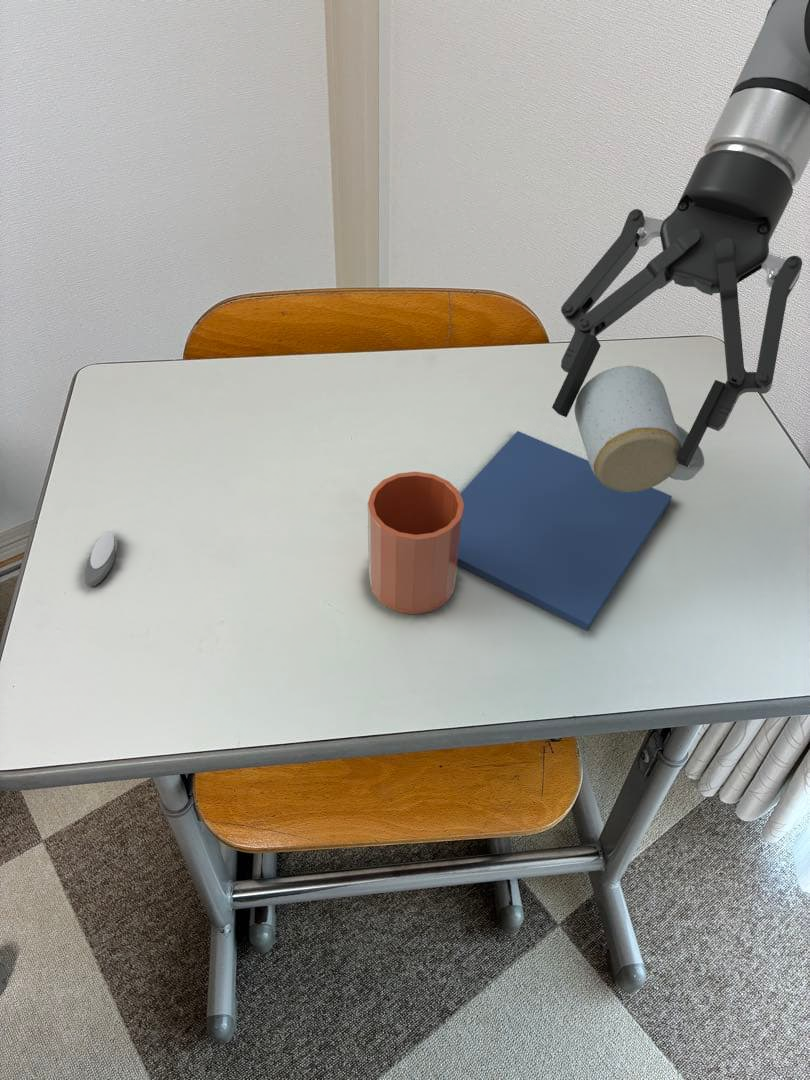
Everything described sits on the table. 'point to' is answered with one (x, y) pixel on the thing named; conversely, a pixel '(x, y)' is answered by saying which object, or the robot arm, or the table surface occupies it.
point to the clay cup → (414, 541)
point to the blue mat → (553, 528)
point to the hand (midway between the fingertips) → (618, 437)
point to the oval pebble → (101, 559)
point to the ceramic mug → (631, 430)
